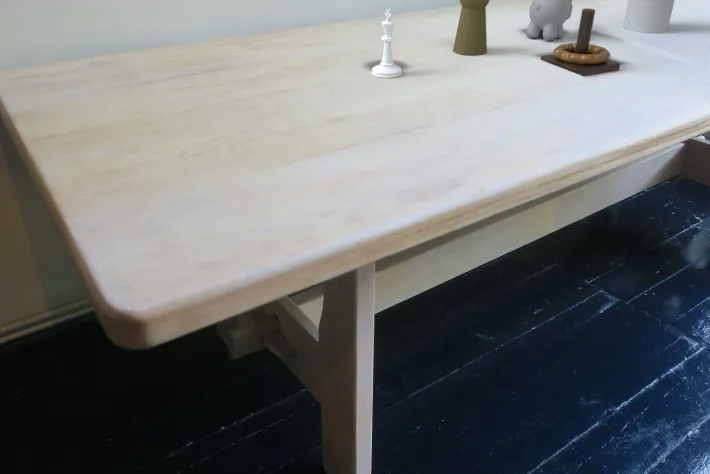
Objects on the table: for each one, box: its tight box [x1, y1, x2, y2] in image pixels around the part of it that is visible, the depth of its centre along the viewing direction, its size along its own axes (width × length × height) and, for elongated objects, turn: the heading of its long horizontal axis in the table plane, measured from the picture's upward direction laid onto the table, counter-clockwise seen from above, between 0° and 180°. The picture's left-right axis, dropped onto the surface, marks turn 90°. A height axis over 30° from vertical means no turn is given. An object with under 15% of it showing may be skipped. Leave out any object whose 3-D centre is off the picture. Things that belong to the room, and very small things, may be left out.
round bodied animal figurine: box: [525, 0, 574, 41], centre depth 127 cm, size 7×12×8 cm, turn 135°
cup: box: [622, 0, 675, 35], centre depth 127 cm, size 8×8×12 cm
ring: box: [553, 42, 611, 65], centre depth 110 cm, size 9×9×2 cm
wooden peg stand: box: [540, 7, 621, 77], centre depth 109 cm, size 9×9×9 cm
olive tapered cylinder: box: [452, 0, 490, 56], centre depth 116 cm, size 6×6×11 cm
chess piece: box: [371, 8, 403, 79], centre depth 105 cm, size 5×5×10 cm
